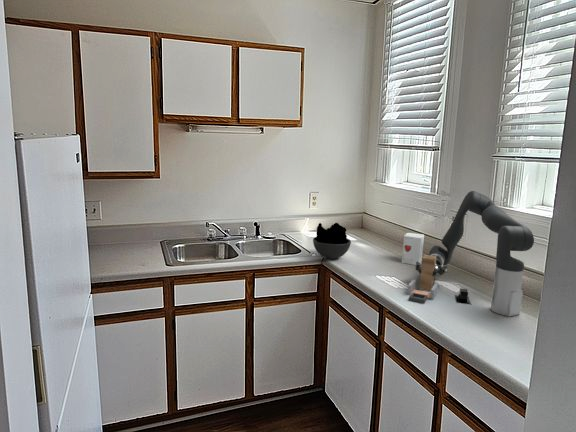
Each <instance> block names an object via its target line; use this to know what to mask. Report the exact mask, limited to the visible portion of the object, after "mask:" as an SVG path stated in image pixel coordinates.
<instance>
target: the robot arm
mask: <svg viewBox="0 0 576 432" xmlns="http://www.w3.org/2000/svg"><path fill="white" fill-rule="evenodd" d="M468 212H471V213H474V214H476V215H478V216H481V217H480V218H481V221H482V223H483V225H485V227H486V228H487V229H488V230H490V231H491V232H493V233H496V234H497V242H496V243H497V244H496V255H495V258H496V259H495V260H496V262H495V263H496V264H495V271H494V277H493V278H494V279H493V287H492V291H491V292H492V294H491V301H490V311H492V312H494V313H495V314H498V315H502V316H506V317H514V316H519V315H520V313H521V307H522V300H523V295H524V290H523V289H522V283H523V275H524V269H525V263H524V262H523V261H522V260H520V259H517V258H515V257H512V256H511V252H527V251H529V250H531V249H532V248H533V246H534V243H535V238H534V234H533V232H532V231H531V229H530V228H529V227H528V226H525V225H524V224H522V223H520V222H518V221H517V220H515V219H514V218H513V217H512V216H510V215H509V214H508V213H507V212H505V211H504V210H503V209H502V208H501V207H499V206H498V205H496V204H495V203H494V202H493V200H492V199H491V198H490V197H488V196H487V195H485V194H482V193H480V192H478V191H475V190H470V191H468V192H467V194H466V195H465V197H464V198H463V200H462V201H461V204H460V205H459V208H458V210H457V211H456V214H455V217H454V218H453V220H452V223H451V225H450V226H449V228H448V229H447V231H446V232H445V234H444V236H443V237H442V238H441V244H442V245H443V246H444V247H445V248H446V249H444V248H443V247H441V246H440V245H433V246H432V247H431V249H430V250H429V252H428V255H429V256H436V267H435V269H434V271H433V276H437V275H438V274H439V275H440V276H442V275H445V274H446V273H447V272H448V266H446V265H448V264H450V263H451V260H452V256H453V253H454V251H455V248H456V246H457V245H458V244H459V242H460V241H461V239H462V238H463V235H464V229H465V227H464V226H465V225H464V224H465V223H464V222H465V217H466V214H467V213H468ZM421 266H422V263H419V262H416V265H415V271H417V272H418V273H419V275H421Z"/></svg>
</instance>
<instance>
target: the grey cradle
mask: <svg viewBox="0 0 576 432" xmlns="http://www.w3.org/2000/svg"><path fill="white" fill-rule="evenodd" d="M416 282H417V279H412V280H411V281H410V282H409V284H408V285H407V293H406V294H407V295H408V296H410V295H411V294H412V293H418V294H423V295H428V297H427V300H433V301H434V299H435V297H436V296H437V294H438V288H439V283H434V286H433V287H432V289H431V291H430V292H427V291H423V290H419V289H416Z"/></svg>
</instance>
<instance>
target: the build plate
mask: <svg viewBox="0 0 576 432" xmlns="http://www.w3.org/2000/svg"><path fill="white" fill-rule="evenodd" d="M458 290H459V291H458V294H454V298H455V303H456V304H463V305H472V302H471V300H470V296H469V291H468V289H467V288H459V289H458Z"/></svg>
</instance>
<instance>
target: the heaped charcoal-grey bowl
mask: <svg viewBox="0 0 576 432" xmlns="http://www.w3.org/2000/svg"><path fill="white" fill-rule="evenodd" d="M346 232H347V228H346V227H344V226H342V225H340V223H338V222H335V223H333V224H331V226H330V227H327V228H325V227H324V226H323V225H322V223H321V222H319V223H318V225H317V227H316V236H315V237H313V238H312V243H313V247H314V249H315V251H316V252H317V253H318V254H319V255H320V256H321V257H324V258H326V259H330V260H335V259H338V258H341V257H343V256H345V254H347V252H348V251H349V249H350V246H351V245H352V244H351V243H352V240H350V239H349V238H347V237H348V235H347V233H346Z"/></svg>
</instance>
